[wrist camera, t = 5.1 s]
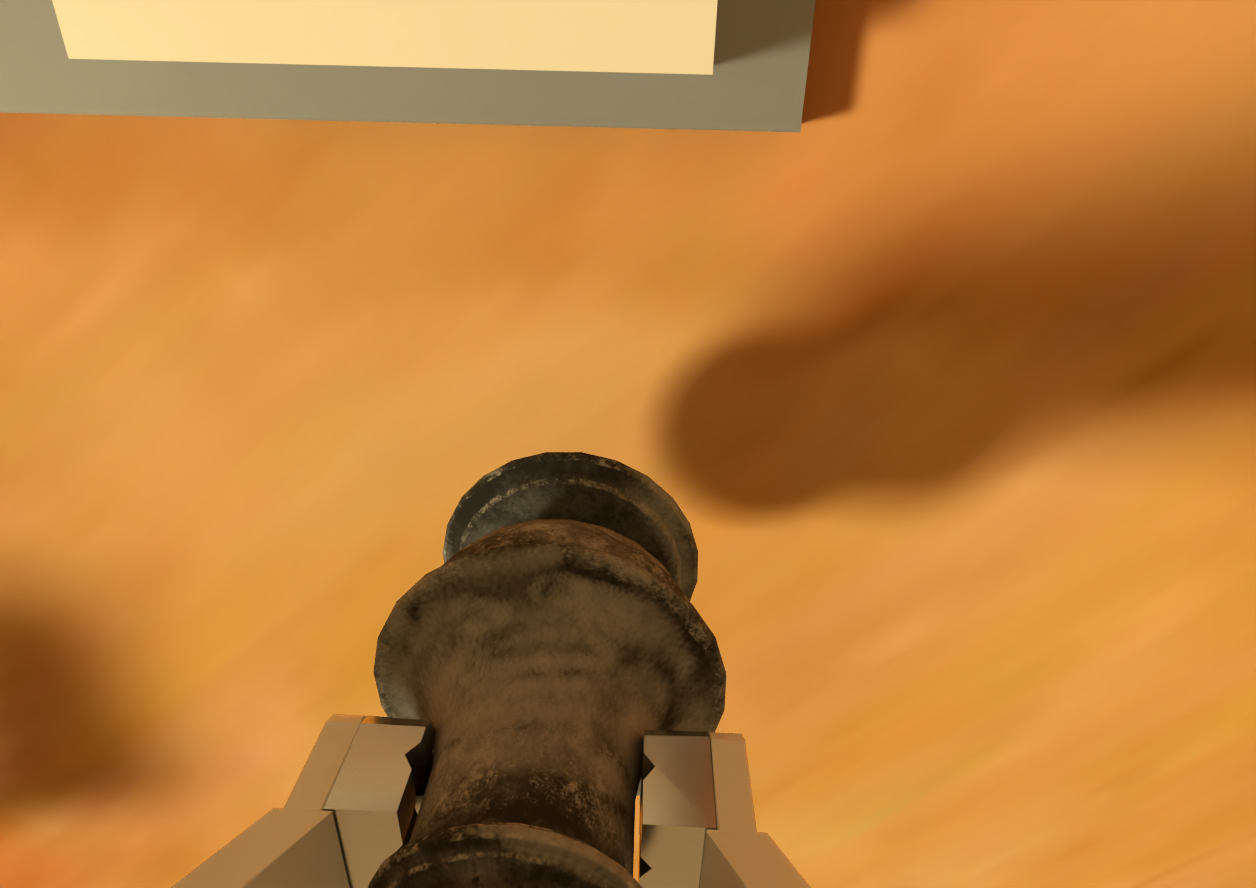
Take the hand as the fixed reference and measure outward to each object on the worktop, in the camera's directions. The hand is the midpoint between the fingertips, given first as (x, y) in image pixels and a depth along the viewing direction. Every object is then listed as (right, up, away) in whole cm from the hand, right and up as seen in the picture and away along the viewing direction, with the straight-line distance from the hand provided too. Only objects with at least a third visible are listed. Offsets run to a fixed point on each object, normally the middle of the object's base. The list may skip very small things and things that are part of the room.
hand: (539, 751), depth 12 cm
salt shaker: (0, +2, +4) cm, 5 cm away
